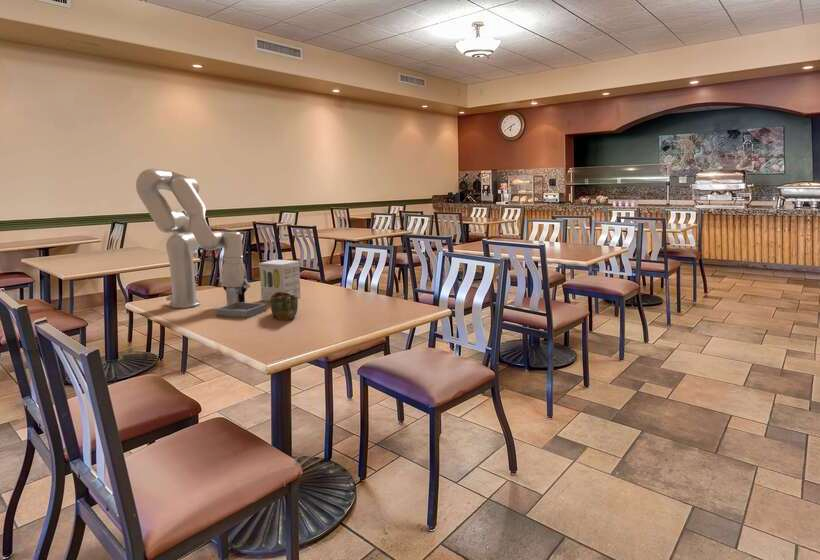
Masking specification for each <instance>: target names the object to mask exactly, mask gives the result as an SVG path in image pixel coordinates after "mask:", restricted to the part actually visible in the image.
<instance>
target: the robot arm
mask: <svg viewBox="0 0 820 560" xmlns="http://www.w3.org/2000/svg"><path fill="white" fill-rule="evenodd" d="M135 189H136V192H137V195H138V197H139V199H140V200H141V202H142V204H143V205H144V206H145V208H146V210H147V211H148V214H149V216H150V217H151V219H152V221H153V222H154V224H155V225H156V227H157V229H158V230H159V231H160V232H162V233H165V234H171V233H172V235H170V236H169V238H168V239H167V241H166V244H165V249H166V252H167V257H168V262H169V271H170V283H171V285H170V286H171V294H169V295H167V296H166V297H165V299H166V301H170V302H169V304H168V307H170V308H171V309H189V308H194V307H197V306H200V305H201V301H200V300H198V299H197V293H196V292H197V291H196V279H195V278H196V276H195V266H194V259H193V257H192V254H193V253H195V252H197V251H198V250H199V248H200V247H202V249H204V250H206V251H214V250H219V249H223V254H224V257H222V261H224V263H223V264H222V269H221V282H220V285H219V286H220V287H222V288H223V290H224V291H225V292H226V288H229V287H238V290H239V293H240V294H238V298H239V302H244V293H246V291H248V289H250V288H251V285H250V283H249V281H248V276H247V269H246V265H245V263H244V255H243V254H244V253H243V239H242V233H241V232H240V231H220V230H215V231H212V229H211V227H210V226H209V225H208V223H207V220H206V211H207V206H206V204H205V203H204V201H203V200H202V198H201V196H200V195H199V192H200V185H199V183H198V181H197V180H196V179H194V178H193V177H191V176H187V175H183V174H180V173H178V172H174V171H171V170H167V169H159V168H148V169H144V170H143V171H141V172H140V173H139V174H138V176H137V178H136V180H135ZM159 190H165V191H169V192H172V194H173V195H174V197H175V198H176V199H175V200H177V202H178V203H179V205H180V206H181V208H182V210H183V211H184V212H183V211H180V210H177V209H172V207H171V206H170V205H169V203H168V201H167V199H166V198H165V196H164V195H163V194H161V192H160V191H159Z"/></svg>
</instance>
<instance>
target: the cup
mask: <svg viewBox="0 0 820 560" xmlns="http://www.w3.org/2000/svg"><path fill="white" fill-rule="evenodd" d="M298 299H299V298H297V296H296V295H290V294H288V293H285V292H276V293H274V294H272V295H271V297H270V301H269V302H270V310H271V314H272V315H273V318H274V319H275V320H278V321H291V320H294V319H295V318H296V315H297V312H298V305H299V300H298Z"/></svg>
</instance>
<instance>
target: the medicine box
mask: <svg viewBox="0 0 820 560" xmlns="http://www.w3.org/2000/svg"><path fill="white" fill-rule="evenodd" d="M245 293H246V292H245ZM245 293H244V303H246V294H245ZM238 294H240V293H239V290H238V287H229V288H226V291H225V295H226V306H227V305H230V304H233V303H236V302H239V298H238Z"/></svg>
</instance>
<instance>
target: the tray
mask: <svg viewBox="0 0 820 560" xmlns="http://www.w3.org/2000/svg"><path fill="white" fill-rule="evenodd" d="M215 311H216V312H215V313H216V314H215V315H216V317H219V318H220V317H221V318H232V319H243V318H244V319H243V320H245V319H247V318H248V319H250V318H252V316H253V317H255V316H258V315H261V314H262V312H263V313H265V312H267V304H266V303H255V302H245V303H244V302H236V303H233V304H230V305H227V304H226V305H225V306H221V307H218V308H216V309H215ZM257 314H258V315H257ZM248 319H247V320H248Z"/></svg>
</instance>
